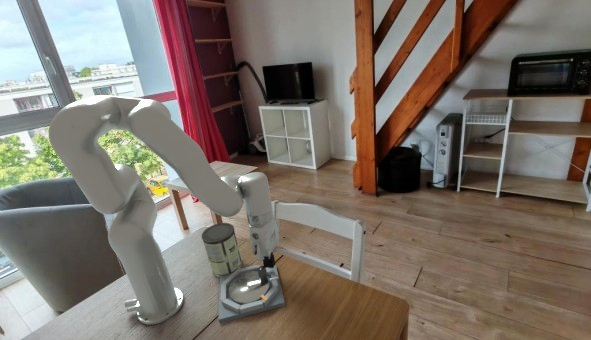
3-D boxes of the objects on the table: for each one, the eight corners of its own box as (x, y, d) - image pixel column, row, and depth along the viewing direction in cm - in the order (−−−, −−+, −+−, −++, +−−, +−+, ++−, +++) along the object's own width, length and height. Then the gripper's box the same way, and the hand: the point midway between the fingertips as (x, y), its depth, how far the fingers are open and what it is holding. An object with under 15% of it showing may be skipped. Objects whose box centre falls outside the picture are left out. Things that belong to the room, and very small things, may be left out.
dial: (229, 309, 81) (225, 292, 79) (229, 279, 92) (225, 263, 89) (272, 298, 83) (269, 281, 80) (267, 270, 94) (264, 254, 91)
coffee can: (217, 256, 105) (208, 223, 100) (245, 256, 104) (237, 221, 98) (206, 278, 96) (196, 242, 90) (237, 277, 94) (228, 240, 89)
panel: (219, 322, 79) (217, 314, 78) (220, 280, 94) (218, 272, 93) (285, 305, 82) (283, 297, 80) (276, 266, 97) (274, 259, 96)
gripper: (261, 230, 77) (272, 285, 83) (281, 202, 89) (288, 251, 96) (236, 228, 79) (248, 281, 86) (258, 201, 92) (267, 249, 99)
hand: (269, 265), depth 91 cm, fingers closed
